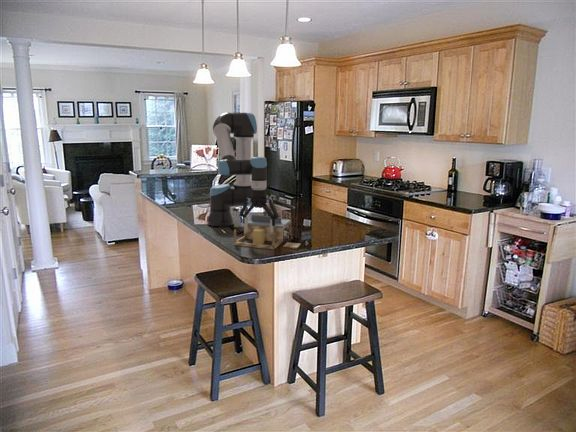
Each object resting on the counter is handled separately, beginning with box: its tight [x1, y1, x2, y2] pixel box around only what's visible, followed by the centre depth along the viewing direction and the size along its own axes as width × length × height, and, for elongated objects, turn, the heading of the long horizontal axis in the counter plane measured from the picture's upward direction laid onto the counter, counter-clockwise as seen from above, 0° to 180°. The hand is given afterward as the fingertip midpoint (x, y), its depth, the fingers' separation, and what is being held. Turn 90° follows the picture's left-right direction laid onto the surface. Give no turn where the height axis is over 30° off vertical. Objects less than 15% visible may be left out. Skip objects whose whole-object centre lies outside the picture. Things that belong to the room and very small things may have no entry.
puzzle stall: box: [233, 221, 292, 250], centre depth 224 cm, size 21×28×8 cm
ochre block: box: [252, 229, 266, 245], centre depth 217 cm, size 4×4×7 cm
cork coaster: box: [282, 241, 302, 249], centre depth 215 cm, size 7×7×1 cm
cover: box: [248, 214, 292, 227], centre depth 228 cm, size 21×14×4 cm, turn 73°
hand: (258, 231), depth 216 cm, fingers open, 13 cm apart
